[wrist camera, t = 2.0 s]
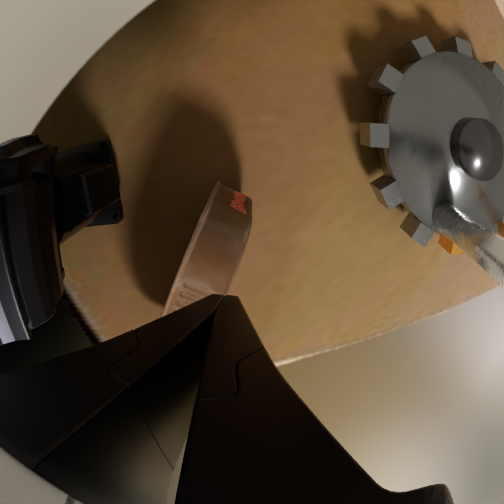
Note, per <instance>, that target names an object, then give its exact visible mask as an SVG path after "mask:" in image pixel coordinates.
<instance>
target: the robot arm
mask: <svg viewBox="0 0 504 504" xmlns="http://www.w3.org/2000/svg"><path fill="white" fill-rule="evenodd" d="M103 144H105V146H106V148H105V149H103ZM115 214H116V215H117V216H118V219H117V218H116V217H115ZM122 219H123V213H122V208H121V203H120V191H119V186H118V180H117V174H116V168H115V165H114V163H113V156H112V149H111V143H110V142H109V141H108V140H102V141H98V142H94V143H91V144H87V145H84V146H80V147H77V148H74V149H71V150H67V151H64V152H61V153H58V154H57V146H49V144H43V143H42V142H41V140H40V139H39V137H38V135H37V134H35V135H27V136H22V137H17V138H13V139H10V140H8V141H6V142H3V143H1V144H0V345H2V344H5V343H8V342H12V341H15V340H25V339H30V338H32V334H31V331H30V329H33V328H35V327H37V326H39V325H40V324H42V323H44V322H46V321H47V320H48V319H49V318H50V317H52V316H53V315H54V314H55V307H56V305H57V303H58V302H59V300H60V299H61V297H62V294H63V288H64V285H63V279H64V277H65V272H64V268H63V267H62V262H61V254H60V247H59V245H60V244H62V243H63V242H64V241H66V240H67V239H68V238H70V237H71V236H73V235H74V234H75V233H77V232H78V231H80V230H81V229H83V228H84V227H89V226H98V225H107V224H117V223H119V222H120V221H121V220H122ZM187 435H188V437H187ZM186 438H187V442H186V447H185V452H184V458H183V463H182V467H181V473H180V478H179V483H178V488H177V493H176V499H175V504H454V503H453V499H452V497H451V494H450V491H449V489H448V488H447V486H446V485H445V484H435V485H430V486H426V487H422V488H419V489H415V490H411V491H407V492H393V491H389V490H386V489H384V488H382V487H381V486H379V485H378V484H377V483H376V482H375V481H374V480H373V479H372V478H371V477H370V476H369V475H368V474H367V472H366V471H364V469H363V468H362V467H361V466H360V465H359V464H358V463H357V462H356V461H355V460H354V459H353V458H352V456H351V455H350V454H349V453H348V452H347V451H346V450H345V449H344V448H343V447H342V445H341V444H340V443H339V442H338V441H337V440H336V439H335V438H334V436H332V434H331V433H330V432H329V431H328V430H327V428H326V427H325V426H324V425H323V424H322V423H321V422H320V420H319V419H318V418H317V417H316V416H315V415H314V414H313V412H312V411H311V410H310V409H309V408H308V406H307V405H306V404H305V403H304V402H303V400H302V399H301V398H300V397H299V396H298V394H297V393H296V392H295V391H294V390H293V388H292V387H291V386H290V385H289V384H288V382H287V381H286V380H285V379H284V377H283V376H282V374H281V373H280V372H279V370H278V369H277V368H276V366H275V364H274V363H273V361H272V359H271V358H270V356H269V354H268V352H267V350H266V349H265V347H264V345H263V343H262V342H261V340H260V338H259V336H258V334H257V332H256V330H255V328H254V326H253V324H252V322H251V320H250V318H249V317H248V315H247V313H246V311H245V309H244V307H243V305H242V303H241V301H240V299H239V297H238V296H231V295H226V296H224V295H221V294H211V295H209V296H206V297H204V298H202V299H200V300H198V301H196V302H194V303H191V304H189V305H187V306H185V307H183V308H181V309H178V310H176V311H174V312H172V313H170V314H167V315H165V316H163V317H161V318H159V319H156V320H154V321H152V322H150V323H147V324H145V325H143V326H141V327H139V328H136V329H135V331H134V330H131V331H129V332H126V333H124V334H122V335H119V336H117V337H114V338H112V339H110V340H107V341H104V342H101V343H99V344H96V345H93V346H90V347H87V348H84V349H81V350H78V351H75V352H72V353H69V354H66V355H63V356H60V357H57V358H54V359H51V360H47V361H44V362H41V363H37V364H35V365H31V366H28V367H25V368H21V369H18V370H14V371H11V372H8V373H4V374H1V375H0V504H166V501H167V495H168V488H169V483H170V479H171V476H172V473H173V469H174V468H175V465H176V463H177V460H178V458H179V455H180V453H181V450H182V448H183V445H184V443H185V440H186Z"/></svg>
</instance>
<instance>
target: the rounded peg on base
mask: <svg viewBox="0 0 504 504" xmlns="http://www.w3.org/2000/svg"><path fill="white" fill-rule="evenodd" d="M497 223H498V230H499V235H500V236H502V237H503V238H504V216H503V217H502V218H501V219H500V220H499V221H498V222H497Z"/></svg>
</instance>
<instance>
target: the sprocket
mask: <svg viewBox="0 0 504 504" xmlns="http://www.w3.org/2000/svg"><path fill="white" fill-rule="evenodd" d="M441 47H442V52H437V53H435V52H436V51H435V49H434V47H433V46H432V44H431V43H430V41H429V39H428V38H427V36H424V37H421V38H418V39H416V40H413V41H411V42H409V43H406V44H405V45H403V46H401V47H399V49H400V51H401V52H402V54H403V56H404V57H405V59H406V60H407V62H408V64H407V65H405V66H404V67H403V68H402V69H400V70H399V71H398V70H396V69H395V68H393V67H392V66H391V65H389V64H388V63H387V64H385V65H383V66H381V67H379V68H377V69H376V70H375V71H374V73H373V75H372V77H371V79H370V81H369V83H368V86H369V87H371V88H372V89H374V90H375V91H377V92H378V93H380V94H381V95H384V96H383V98H382V102H381V106H380V109H379V116H378V123H359V124H360V144H361V145H365V146H369V147H378V149H379V155H380V160H381V164H382V167H383V171H384V174H385V175H383V176H381V177H379V178H378V179H376V180H374V181H373V182H371V183H370V185H371V187H372V189H373V191H374V193H375V195H376V197H377V199H378V201H379V202H380V203H381V204H383V205H384V206H385V207H386V208H388V209H389V210H390V209H392V208H394V207H395V206H397V205H399V204H400V203H401V204H402V206H403V207H404V208H405V209H406V210H407V211H408V212H409V213H408V215H407V216H406V218H405V219H404V221H403V223H402V224H401V226H400V227H401V228H402V229H403V230H404V231H405V232H406V233H407V234H408V235H409V236H410V237H411V238H413V239H414V240H416V241H417V242H418V243H420V244H421V245H423V246H424V247H425V246H426V245H427V243H428V242H429V240H430V238H431V237H432V235H433V234H434V232H436V233H438V234H440V237H439V242H438V243H439V244H440V245H441V246H442V247H443V248H444V249H445V250H447V251H448V252H449V253H450V254H451V255H452V254H465V253H466V254H467V255H468V256H469V257H470V258H471V259H473V260H474V261H475V262H476V263H477V264H478V265H479V266H480V267H481V268H483V269H484V270H485V271H486V272H487V273H488V274H489V275H490V276H491V277H492V278H493V279H494V280H495V281H496V282H497V283H498V284H499V285H500V286H502V287H503V288H504V238H503V237H502V236H500V235H499V230H498V223H497V222H498V221H499V220H500V219H501V218H502V217H503V216H504V86H503V85H504V70H503V69H502V68H501V67H500V66H499V64H498V63H497V62H496V61H491V62H484V63H480V62H479V61H477V60H476V59H474V58H473V55H472V49H471V44H470V42H468V41H466V40H463V39H461V38H458V37H452V38H449V39H447V40H444V41H441ZM433 53H434V54H433ZM409 62H410V63H409ZM411 214H412V215H413V216H412V215H411ZM432 230H433V231H434V232H433V231H432Z"/></svg>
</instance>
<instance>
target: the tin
mask: <svg viewBox="0 0 504 504" xmlns="http://www.w3.org/2000/svg"><path fill="white" fill-rule="evenodd" d="M251 226H252V200H251V199H250V198H249V197H247V196H246V195H244V194H242V193H239V192H237V191H235V190H232V189H230V188H228V187H226V186H224V185H222V184H221V182H219V181H217V183H216V185H215V187H214V189H213V191H212V193H211V195H210V197H209V199H208V201H207V204H206V206H205V208H204V210H203V212H202V214H201V216H200V219H199V221H198V223H197V226H196V228H195V231H194V233H193V235H192V238H191V240H190V243H189V245H188V247H187V250H186V252H185V255H184V257H183V260H182V263H181V265H180V267H179V270H178V272H177V275H176V277H175V280H174V283H173V285H172V288H171V291H170V293H169V296H168V298H167V301H166V304H165V307H164V309H163V312H162V315H161V317H163V316H165V315H167V314H170V313H172V312H174V311H176V310H178V309H181V308H183V307H185V306H187V305H189V304H191V303H194V302H196V301H198V300H200V299H202V298H204V297H206V296H209V295H211V294H221V295H224V296H226V293H227V291H228V289H229V287H230V285H231V283H232V280H233V278H234V276H235V273H236V271H237V269H238V266H239V264H240V261H241V258H242V256H243V253H244V250H245V247H246V244H247V241H248V238H249V234H250V230H251ZM161 317H160V318H161Z"/></svg>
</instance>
